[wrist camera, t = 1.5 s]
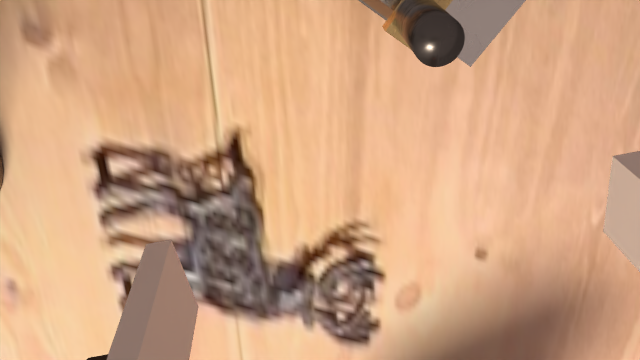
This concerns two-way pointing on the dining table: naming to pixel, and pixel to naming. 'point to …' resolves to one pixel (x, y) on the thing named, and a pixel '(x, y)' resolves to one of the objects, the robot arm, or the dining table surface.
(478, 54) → the grey block on baseplate
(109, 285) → the dining table surface
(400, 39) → the lever
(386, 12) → the body
